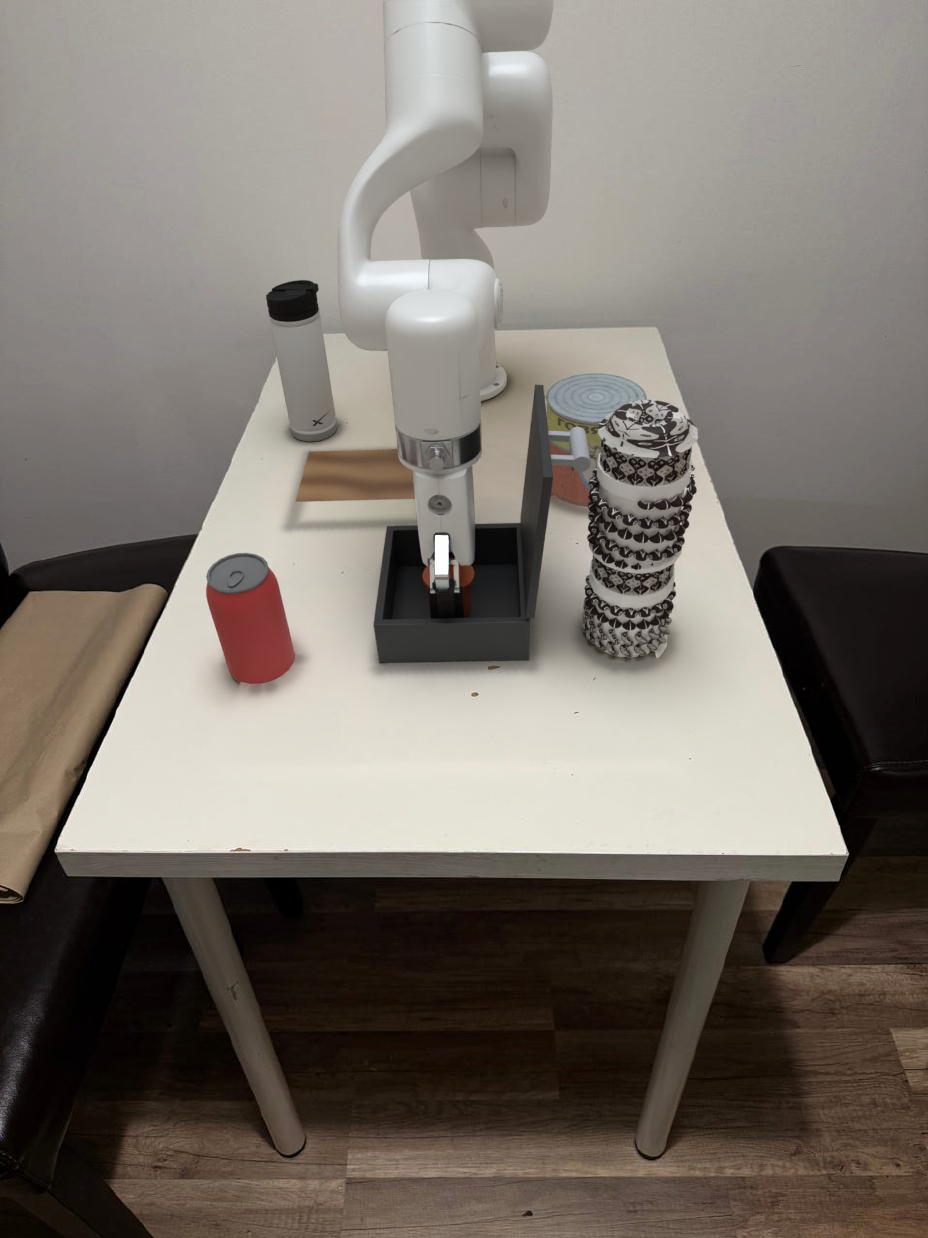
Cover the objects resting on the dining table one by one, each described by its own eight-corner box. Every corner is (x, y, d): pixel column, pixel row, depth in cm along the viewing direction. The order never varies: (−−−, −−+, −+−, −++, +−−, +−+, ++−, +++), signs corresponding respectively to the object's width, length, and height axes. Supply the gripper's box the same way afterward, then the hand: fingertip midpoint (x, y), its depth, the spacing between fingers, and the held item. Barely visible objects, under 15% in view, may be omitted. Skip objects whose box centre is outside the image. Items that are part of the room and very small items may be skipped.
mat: (309, 454, 117) (308, 451, 117) (430, 450, 116) (430, 447, 116) (289, 526, 105) (289, 523, 105) (425, 523, 105) (424, 520, 104)
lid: (543, 476, 72) (600, 479, 72) (534, 384, 84) (583, 386, 84) (525, 618, 82) (575, 620, 82) (520, 518, 94) (563, 520, 94)
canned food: (558, 518, 104) (561, 427, 96) (534, 467, 112) (535, 380, 104) (650, 504, 106) (661, 413, 98) (619, 454, 114) (627, 367, 106)
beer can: (219, 686, 86) (189, 592, 78) (241, 639, 91) (214, 546, 83) (285, 691, 85) (261, 597, 77) (303, 644, 90) (283, 550, 82)
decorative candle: (680, 618, 91) (717, 395, 74) (659, 680, 85) (695, 452, 68) (593, 598, 94) (610, 379, 77) (567, 656, 87) (579, 432, 70)
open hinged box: (379, 668, 87) (373, 625, 83) (391, 568, 99) (386, 525, 95) (529, 666, 87) (529, 622, 83) (523, 565, 98) (524, 522, 94)
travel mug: (331, 444, 119) (308, 296, 105) (284, 440, 120) (255, 294, 106) (345, 420, 123) (324, 275, 110) (300, 417, 124) (274, 273, 111)
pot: (426, 592, 94) (423, 558, 91) (476, 591, 94) (474, 557, 91) (424, 625, 90) (421, 591, 87) (475, 624, 90) (474, 590, 87)
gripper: (481, 491, 72) (486, 645, 83) (481, 390, 85) (486, 535, 96) (389, 493, 72) (406, 647, 84) (403, 392, 85) (416, 537, 96)
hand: (449, 587), depth 90 cm, fingers open, 9 cm apart
